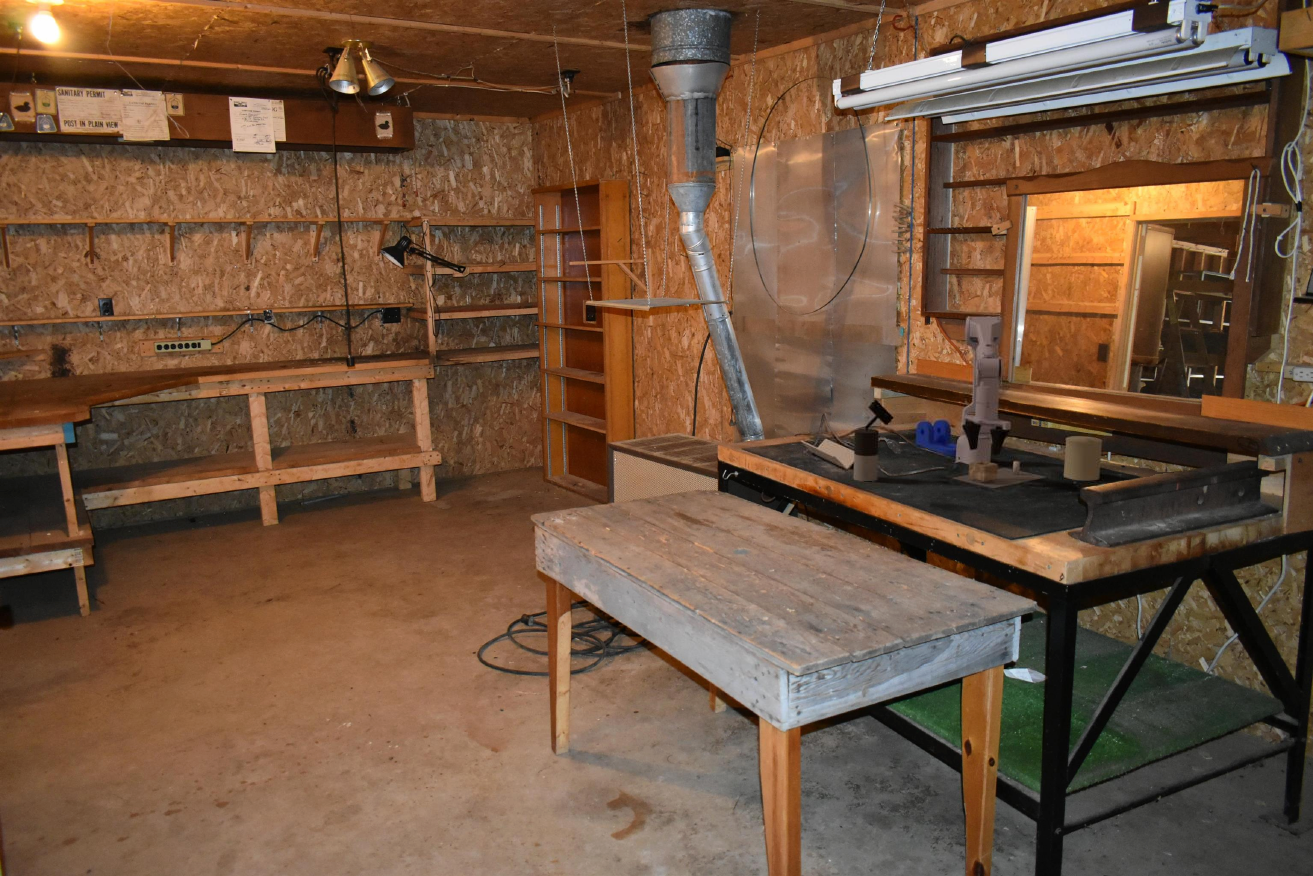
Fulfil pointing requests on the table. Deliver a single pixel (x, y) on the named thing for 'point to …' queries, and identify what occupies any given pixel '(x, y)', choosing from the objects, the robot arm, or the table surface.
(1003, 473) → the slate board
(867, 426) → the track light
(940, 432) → the bracket
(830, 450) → the beige v-shaped trough
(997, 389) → the robot arm
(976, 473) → the ash collar
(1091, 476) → the can
